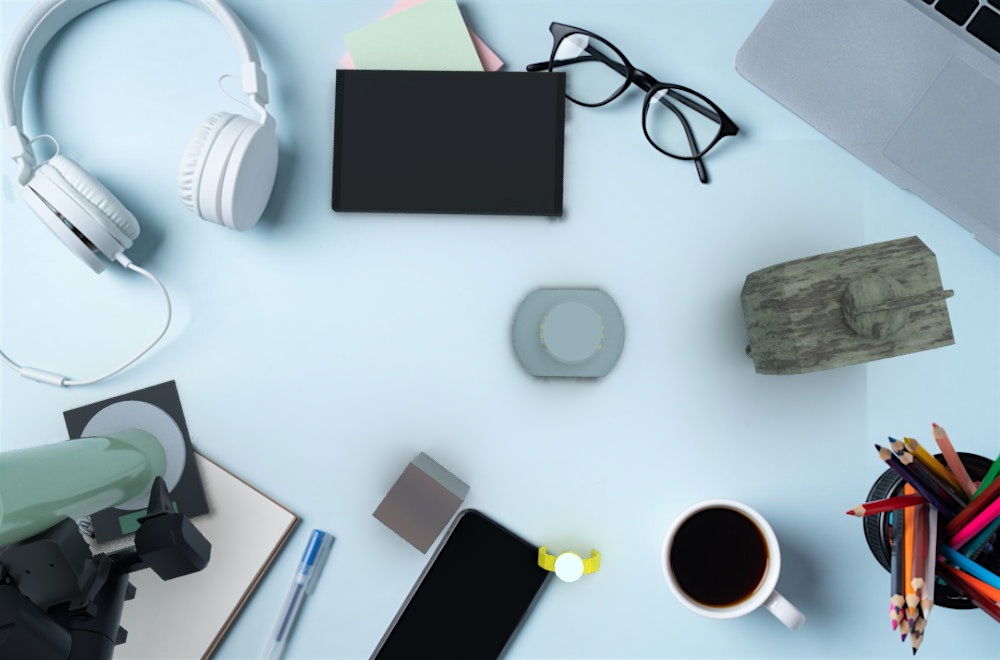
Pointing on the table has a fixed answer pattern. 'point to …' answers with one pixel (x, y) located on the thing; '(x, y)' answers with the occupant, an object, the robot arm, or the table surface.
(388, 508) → the block
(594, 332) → the air freshener
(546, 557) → the watch
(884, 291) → the toy tank
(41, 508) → the canister
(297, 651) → the table surface
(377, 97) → the external hard drive
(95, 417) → the scale
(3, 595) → the robot arm
